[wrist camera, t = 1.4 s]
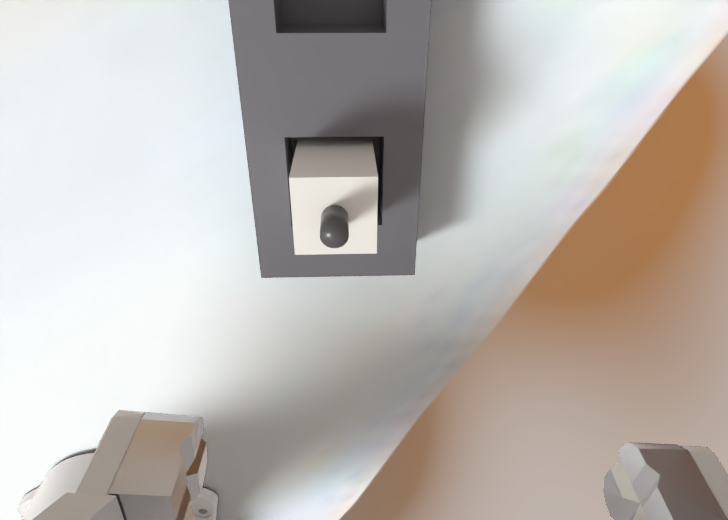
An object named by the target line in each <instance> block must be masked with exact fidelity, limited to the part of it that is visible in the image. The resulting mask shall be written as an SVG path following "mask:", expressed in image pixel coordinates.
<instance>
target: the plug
mask: <svg viewBox="0 0 728 520" xmlns="http://www.w3.org/2000/svg"><path fill="white" fill-rule="evenodd" d="M289 186H290V199H291V212H292V225H293V238H294V251H295V255H316V254H376V253H377V210H378V173H377V167H376V160H375V154H374V148H373V141H372V137H298V140H297V145H296V149H295V153H294V158H293V162H292V166H291V171H290V175H289Z"/></svg>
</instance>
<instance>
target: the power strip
mask: <svg viewBox="0 0 728 520" xmlns="http://www.w3.org/2000/svg"><path fill="white" fill-rule="evenodd" d="M229 8H230V17H231V25H232V34H233V42H234V51H235V59H236V67H237V76H238V84H239V93H240V101H241V110H242V118H243V126H244V135H245V143H246V152H247V160H248V169H249V177H250V186H251V194H252V202H253V211H254V219H255V228H256V236H257V245H258V253H259V262H260V270H261V278H272V277H327V276H383V275H415V259H416V243H417V226H418V210H419V193H420V177H421V161H422V144H423V128H424V111H425V95H426V78H427V62H428V45H429V29H430V13H431V0H229ZM298 137H372V141H373V148H374V154H375V160H376V167H377V173H378V210H377V253H376V254H316V255H295V251H294V238H293V225H292V212H291V199H290V186H289V175H290V171H291V166H292V162H293V158H294V153H295V149H296V145H297V140H298Z"/></svg>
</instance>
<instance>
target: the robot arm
mask: <svg viewBox="0 0 728 520" xmlns="http://www.w3.org/2000/svg"><path fill="white" fill-rule="evenodd" d="M203 431H204V423H203V418H202V417H199V416H187V415H175V414H163V413H151V412H139V411H124V410H119V411H118V412H117V413H116V414H115V415H114V416H113V417H112V418H111V420H110V422H109V424H108V426H107V428H106V430H105V432H104V434H103V436H102V438H101V441H100V443H99V445H98V447H97V449H96V451H95V453H88V454H83V455H78V456H74V457H71V458H69V459H66V460H64V461H62V462H60V463H58V464H57V465H55V466H54V467H53V468H52V469H51V470H50V471H49V472H48V473H47V474H46V476H45V478H44V480H43V481H42V483H41V485H40V486H39V487H38V488H37V489H35V490H33V491H31V492H29V493H27V494H26V495H24V496H23V497H22V499H21V501H20V503H19V505H18V508H17V510H18V513H19V514H20V515H21V516H22V517H23V518H22V520H216V517H217V505H218V496H217V495H216V494H215V493H214V492H213V491H211V490H208V489H206V488H203V487H202V486H203V482H204V478H205V472H206V466H207V443H206V442H205V441H204V440H203V439H202V438H201V437H202V434H203ZM618 454H619V456H620V459H621V461H620V462H618V463H616V464H614V465H613V466H611V467H610V468H609V469H608V472H607V473H606V475H605V477H604V497H605V502H606V505H607V508H608V510H609V513H610V516H611V517H612V518H613V519H614V520H728V474H727V472H726V471H725V469H724V467H723V466H722V464H721V463H720V462H719V460H718V458H717V456H716V455H715V454H714V453H713V452H712V451H711V450H710V449H709V448H708V447H701V446H679V445H675V444H654V443H630V442H629V443H627V444H625V445H623V447H622V448H621V450H620V451H619V453H618Z"/></svg>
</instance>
